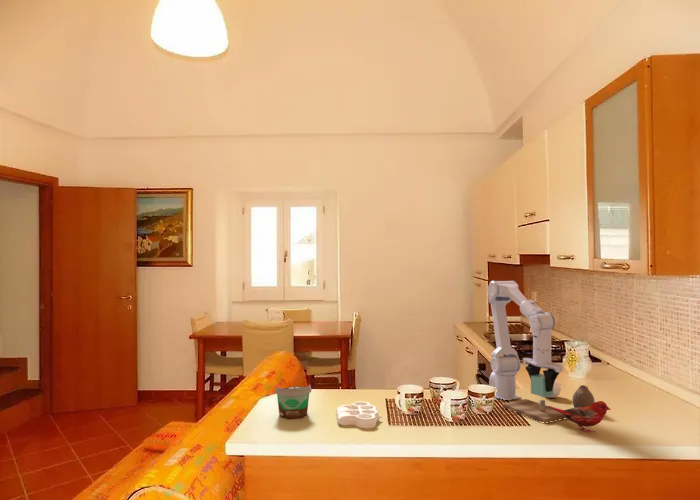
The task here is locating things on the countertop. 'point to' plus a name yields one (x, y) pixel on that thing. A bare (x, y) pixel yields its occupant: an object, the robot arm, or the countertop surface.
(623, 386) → the countertop surface
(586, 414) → the decorative bird figurine
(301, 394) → the food container
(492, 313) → the robot arm
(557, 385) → the geometric ball
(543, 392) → the matte teal cube
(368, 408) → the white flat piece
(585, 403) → the vase
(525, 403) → the walnut base plate
